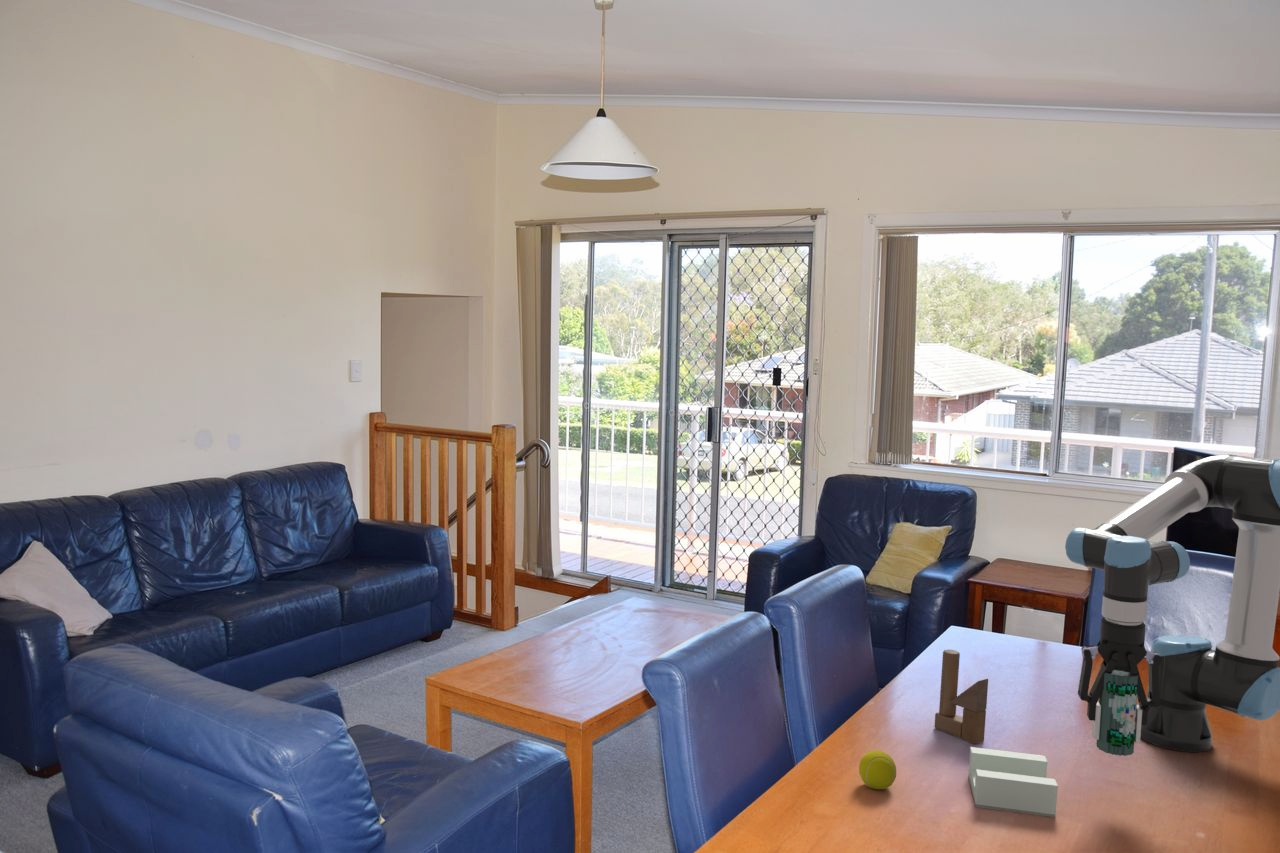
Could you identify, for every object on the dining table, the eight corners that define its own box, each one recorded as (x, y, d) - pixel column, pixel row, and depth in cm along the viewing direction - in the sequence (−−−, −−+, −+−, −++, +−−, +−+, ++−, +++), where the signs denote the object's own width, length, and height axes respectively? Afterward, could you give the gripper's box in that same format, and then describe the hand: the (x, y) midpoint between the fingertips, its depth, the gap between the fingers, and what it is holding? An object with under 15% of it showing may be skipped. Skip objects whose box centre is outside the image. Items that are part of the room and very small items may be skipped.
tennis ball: (855, 778, 199) (857, 744, 198) (890, 780, 198) (893, 746, 198) (861, 794, 192) (863, 758, 191) (898, 796, 191) (901, 760, 191)
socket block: (1042, 785, 199) (1044, 755, 198) (1055, 817, 185) (1057, 785, 185) (968, 775, 202) (970, 746, 201) (975, 806, 188) (977, 775, 188)
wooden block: (974, 745, 218) (979, 664, 216) (933, 728, 226) (938, 650, 225) (984, 741, 220) (990, 661, 218) (944, 725, 229) (949, 647, 227)
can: (1116, 757, 187) (1121, 679, 185) (1090, 745, 192) (1094, 668, 191) (1140, 752, 189) (1145, 675, 188) (1113, 740, 195) (1118, 664, 193)
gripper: (1174, 618, 190) (1165, 736, 192) (1064, 610, 194) (1057, 725, 196) (1186, 629, 183) (1177, 752, 185) (1071, 621, 187) (1064, 741, 189)
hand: (1115, 738), depth 191 cm, fingers closed on can, 6 cm apart
